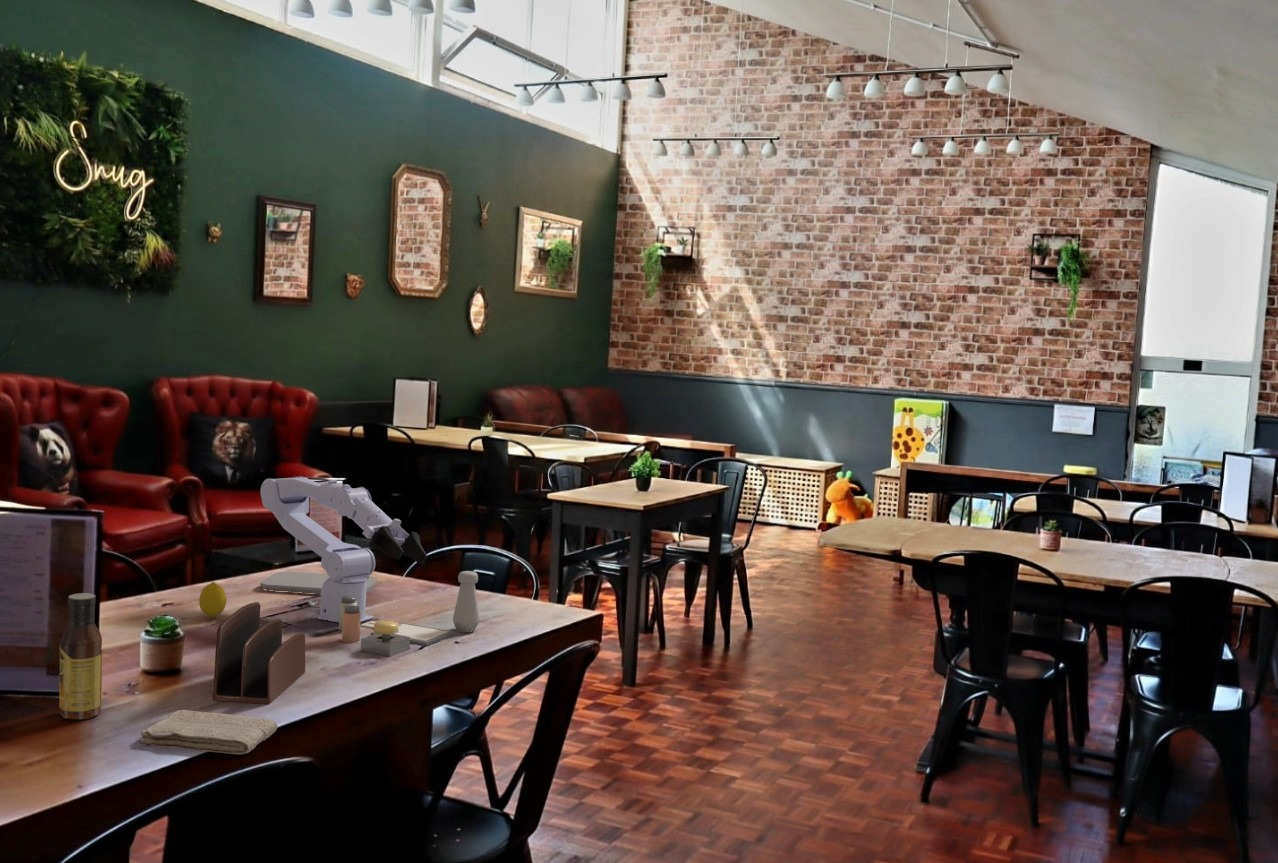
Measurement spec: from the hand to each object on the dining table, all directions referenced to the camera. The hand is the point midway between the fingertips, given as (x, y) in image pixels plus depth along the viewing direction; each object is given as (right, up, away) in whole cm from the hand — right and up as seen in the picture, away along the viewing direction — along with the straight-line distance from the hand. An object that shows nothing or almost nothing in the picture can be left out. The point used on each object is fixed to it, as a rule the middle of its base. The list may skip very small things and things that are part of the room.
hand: (412, 558), depth 248 cm
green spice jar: (-15, -16, +6) cm, 23 cm away
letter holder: (-20, -19, -37) cm, 46 cm away
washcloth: (-20, -22, -64) cm, 70 cm away
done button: (-4, -16, -9) cm, 19 cm away
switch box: (-4, -18, -9) cm, 20 cm away
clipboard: (-1, -17, +4) cm, 17 cm away
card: (-10, -16, +10) cm, 21 cm away
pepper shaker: (-12, -17, -3) cm, 21 cm away
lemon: (-45, -14, +9) cm, 48 cm away
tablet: (-32, -13, +44) cm, 56 cm away
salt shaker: (+10, -17, +11) cm, 22 cm away
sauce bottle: (-43, -20, -57) cm, 74 cm away
